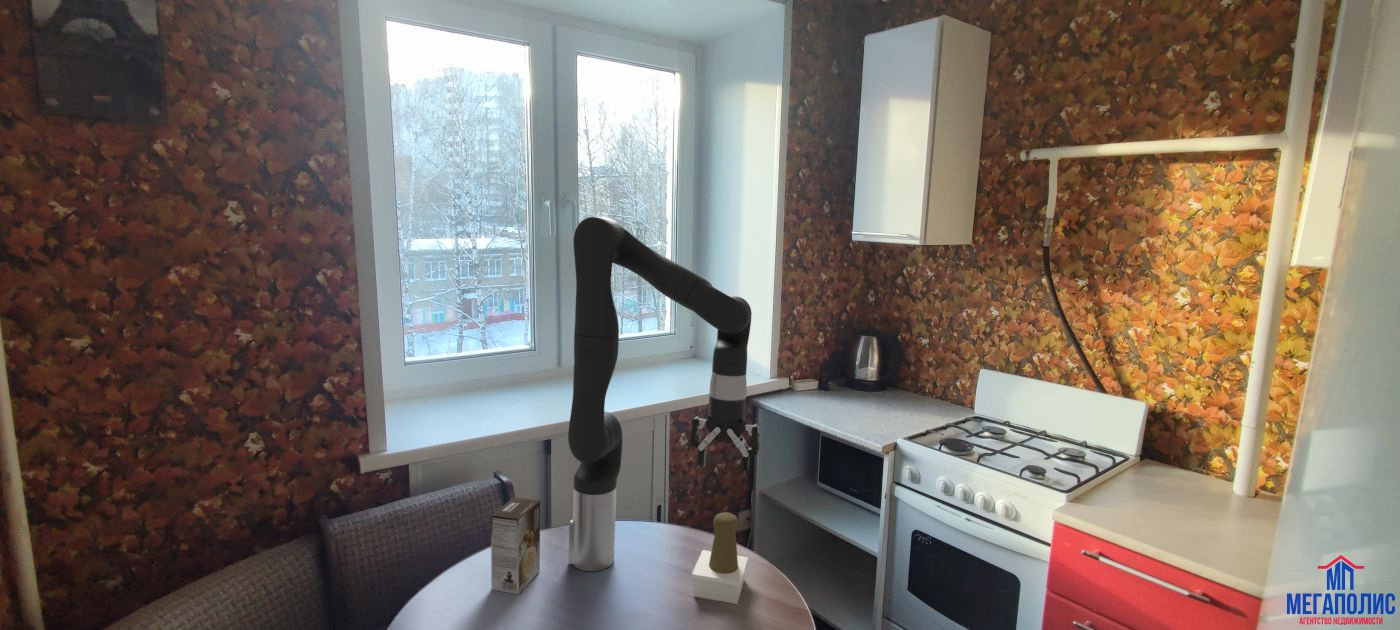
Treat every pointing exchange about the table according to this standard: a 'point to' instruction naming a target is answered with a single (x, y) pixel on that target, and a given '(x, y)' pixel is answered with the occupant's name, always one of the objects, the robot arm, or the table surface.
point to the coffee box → (515, 545)
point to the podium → (718, 580)
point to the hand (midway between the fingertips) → (722, 469)
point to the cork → (724, 544)
